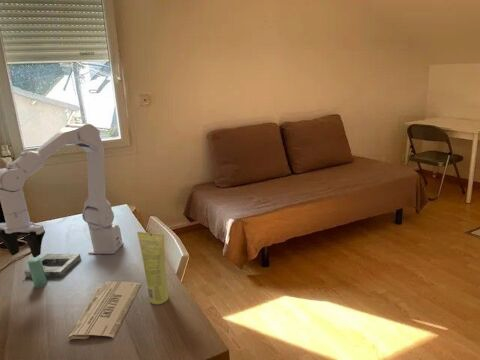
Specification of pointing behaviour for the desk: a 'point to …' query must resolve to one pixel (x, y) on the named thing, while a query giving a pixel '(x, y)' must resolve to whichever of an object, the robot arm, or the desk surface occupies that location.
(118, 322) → the newspaper
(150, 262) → the tube
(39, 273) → the peg
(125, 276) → the desk surface
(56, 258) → the keyhole plate
